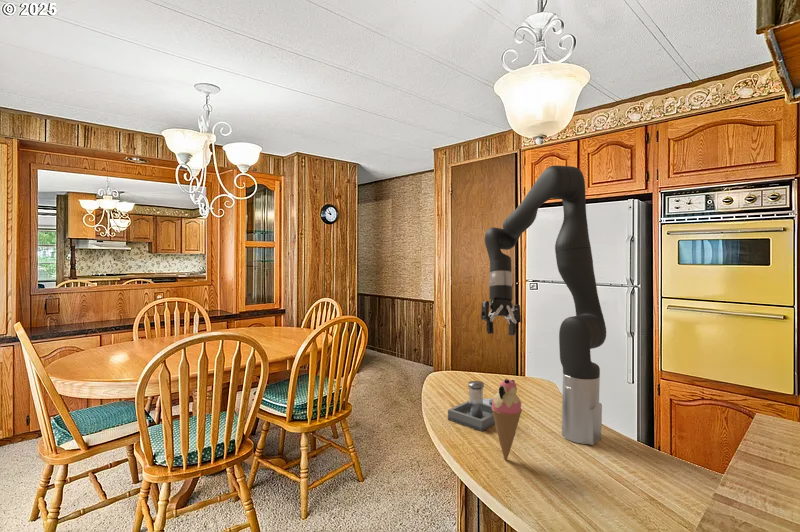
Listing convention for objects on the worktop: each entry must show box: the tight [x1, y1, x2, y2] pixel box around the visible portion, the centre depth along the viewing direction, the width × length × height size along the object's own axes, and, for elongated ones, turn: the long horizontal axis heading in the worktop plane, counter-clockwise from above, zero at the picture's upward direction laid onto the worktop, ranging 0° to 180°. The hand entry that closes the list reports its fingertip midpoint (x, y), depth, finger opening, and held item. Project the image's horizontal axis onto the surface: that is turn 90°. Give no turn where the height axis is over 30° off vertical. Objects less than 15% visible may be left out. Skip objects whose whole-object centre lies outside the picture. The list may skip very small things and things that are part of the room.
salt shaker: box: [467, 380, 485, 418], centre depth 127 cm, size 5×5×10 cm
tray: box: [447, 400, 495, 432], centre depth 127 cm, size 12×12×3 cm
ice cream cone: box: [491, 378, 523, 461], centre depth 102 cm, size 8×7×20 cm
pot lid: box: [483, 398, 493, 406], centre depth 135 cm, size 10×10×6 cm
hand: (501, 334), depth 138 cm, fingers open, 8 cm apart
